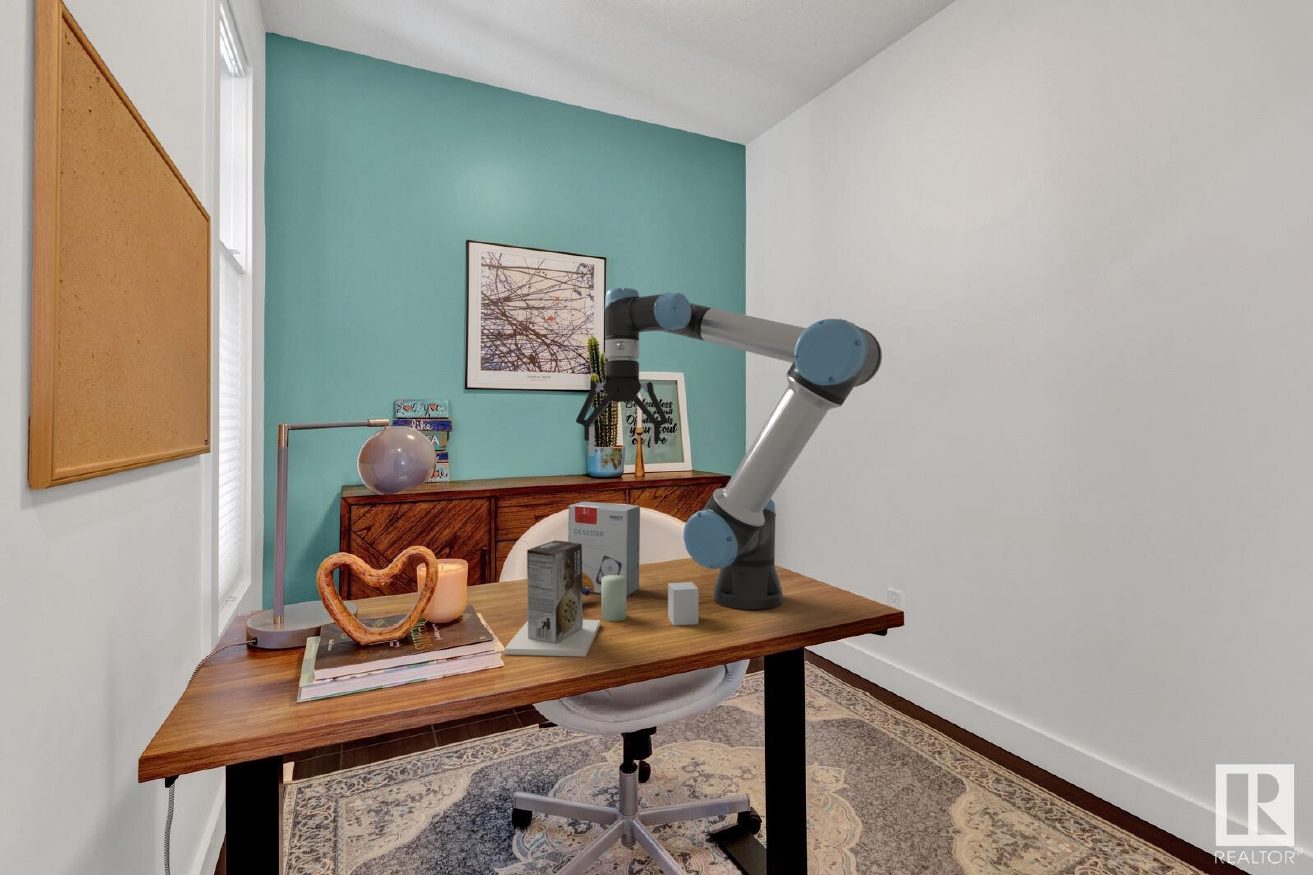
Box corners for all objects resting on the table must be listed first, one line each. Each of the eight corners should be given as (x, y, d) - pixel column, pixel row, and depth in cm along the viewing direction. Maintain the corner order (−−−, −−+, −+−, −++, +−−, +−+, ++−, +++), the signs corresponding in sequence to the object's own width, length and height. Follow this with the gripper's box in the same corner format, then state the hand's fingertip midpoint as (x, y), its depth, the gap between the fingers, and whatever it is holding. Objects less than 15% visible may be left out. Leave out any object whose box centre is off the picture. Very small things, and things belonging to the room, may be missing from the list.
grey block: (691, 616, 129) (692, 582, 128) (698, 624, 124) (698, 588, 123) (668, 617, 128) (668, 583, 127) (673, 625, 123) (673, 590, 122)
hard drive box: (566, 590, 147) (566, 505, 147) (583, 582, 154) (582, 501, 154) (626, 597, 141) (626, 509, 141) (640, 589, 148) (641, 504, 148)
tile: (600, 625, 123) (600, 620, 123) (585, 656, 107) (585, 650, 107) (529, 623, 124) (529, 618, 124) (504, 654, 108) (504, 648, 108)
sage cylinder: (627, 613, 130) (627, 575, 130) (624, 621, 125) (624, 581, 125) (603, 613, 130) (603, 574, 130) (599, 621, 125) (599, 581, 125)
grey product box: (554, 623, 121) (554, 539, 120) (583, 628, 118) (583, 542, 117) (525, 638, 112) (525, 548, 112) (556, 644, 110) (556, 552, 109)
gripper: (562, 359, 137) (563, 456, 137) (677, 358, 135) (677, 457, 136) (569, 361, 144) (570, 454, 145) (678, 361, 143) (678, 455, 143)
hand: (622, 456), depth 140 cm, fingers open, 13 cm apart
